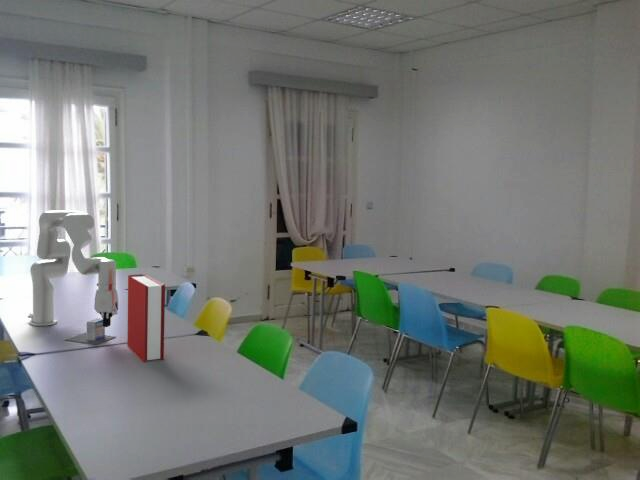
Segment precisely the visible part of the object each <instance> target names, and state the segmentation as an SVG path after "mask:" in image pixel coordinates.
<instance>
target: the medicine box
mask: <svg viewBox="0 0 640 480" xmlns="http://www.w3.org/2000/svg"><path fill="white" fill-rule="evenodd" d="M86 333H87V340H89V341H97V340H99V339H101V338H104V337H105V335H106V327H103V318H94V319H92V320H89V321H87V322H86Z"/></svg>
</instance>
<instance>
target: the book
mask: <svg viewBox="0 0 640 480" xmlns="http://www.w3.org/2000/svg"><path fill="white" fill-rule="evenodd" d="M165 299H166V284H165V283H163V282H161V281H160V280H158V279H155V278H154V277H152V276H149V275H148V274H143V273H141V274H130V275H127V341H126V342H127V347H128V348H129V350H131V351H132V352H133V353H134V354H135V355H136V356H137V357H138V358H139V359H140V360H142V362H144V363H146V362H147V361H150V360H158V359H159V360H163V361H164V360H165V359H164V357H165V315H166V314H165V311H166V310H165V308H166V307H165V305H166V304H165V301H166V300H165Z"/></svg>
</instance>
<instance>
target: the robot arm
mask: <svg viewBox="0 0 640 480" xmlns="http://www.w3.org/2000/svg"><path fill="white" fill-rule="evenodd" d="M38 224H39V232H38V233H39V235H38V241H37V248H36V256H37V257H38V258H39V259H40V260H39V261H35V262H34V263H32V264H31V266H30V268H29V269H30V276H31V283H32V312H31V313H29V314H28V315H27V318H28V319H31V320H30V321H29V325H30V326H35V327H45V326H52V325H56V324H57V323H58V319H56V318H55V315H54V314H55V307H54V306H55V305H54V304H55V291H54V285H53V284H52V282H51V281H50V280H54V279H61V278H64V277H66V275H67V274H68V270H69V265H70V259H71V260H72V263H73V265H74V266H75V268H76V270H77V271H78V272H79V274H81V275H82V276H83V275H84V276H90V275H97V276H98V277H97V278H98V279H97V283H96V286H97V289H96V291H95V296H94V305H93V307H94V310H95V312H96V313H97V314H99V315H100V316H101V319H103V327H105V328H108V327H110V326H111V324H112V323H111V321H112V320H111V318H112V317H113V316H115V315H118V314H119V313H118V311H119V295H118V290H117V289H116V288H117V284H116V283H117V282H116V281H117V262H116V260H114V259H112V258H111V259H108V258H106V257H104V256H97V257H87V258H86V257H85V256H84V254H83V252H82V249H84V248H86V247H87V246H89V245H90V244H91V243H92V241H93V237H92V235H91V233H90V230H93V229H94V227H95V219H94V217H93V216H92V215H91V214H90V213H88V212H83V211H79V210H47V211H43V212H42V213H40V216H39V218H38ZM58 229H65V231H66V233H67V235H68V236H69V238H70V240H71V243H72V244H73V247H72V250H71V245H70V243H69V242H68V240H66V239H63V238H61V239H60V238H59V231H58ZM58 238H59V239H58Z"/></svg>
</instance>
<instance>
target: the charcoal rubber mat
mask: <svg viewBox="0 0 640 480" xmlns="http://www.w3.org/2000/svg"><path fill="white" fill-rule="evenodd" d="M116 338H117V336H113V335H107V334H105V337H104V338H101V339H99V340H97V341H89V340H87V332H83V333H81V334H78V335H74V336H71V337H68V338H65V339H64V341H66V342H73V341H74V342H75V343H79V342H81V343H80V344H86V343H87V345H94V346H97V345H100V344H102V343H105V342H108V341H110V340H114V339H116Z"/></svg>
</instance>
